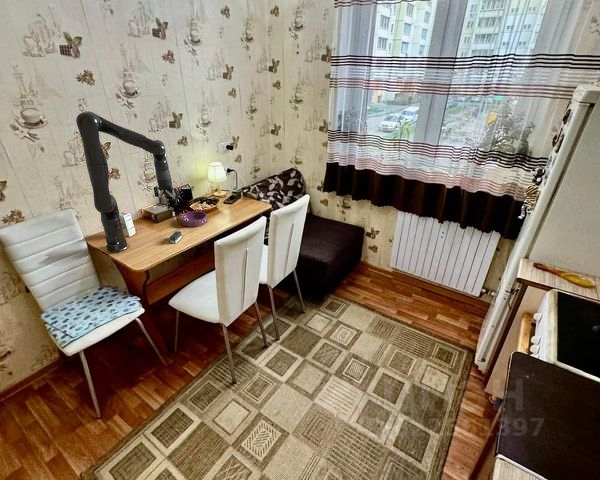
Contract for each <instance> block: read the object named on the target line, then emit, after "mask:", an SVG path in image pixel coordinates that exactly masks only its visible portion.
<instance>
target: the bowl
mask: <svg viewBox="0 0 600 480" xmlns="http://www.w3.org/2000/svg"><path fill="white" fill-rule="evenodd" d="M180 221H181V222H180V223H181V225H183V226H184V227H200V226H202V225H205V224H206V223H208V214H207V213H206V212H204V211H201V210H200V211H199V210H196V211H195V210H194V211H188V212H185V213H183V214H182V215H181V216H180Z"/></svg>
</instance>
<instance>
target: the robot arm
mask: <svg viewBox="0 0 600 480" xmlns="http://www.w3.org/2000/svg"><path fill="white" fill-rule="evenodd" d="M75 123H76V126H77V129H78V132H79V135H80V138H81V141H82V146H83V155H84V159H85V164H86V169H87V172H88V177H89V180H90V184H91V187H92V195H93V206H94V208H95V210H96V211H97V212H98V213H100V222H101V225H102V227H103V228H102V229H103V231H104V234H105V236H104V239H105V241H106V245H105V246H106V250H107V251H109V252H110V253H111V254H115V253H120V252H124V251H125V250H127V249H128V248H129V244H128V241H127V237H126V236H125V234H124V231H123V227H122V224H121V220H120V210H119V206H118V202H117V199H116V197H114V195H112V194H111V193H110V169H109V164H108V159H107V156H106V154H105V153H106V152H105V151H104V149H103V147H102V143H101V140H100V133H104V134H106V135H110V136H112V137H114V138H116V139H118V140H120V141H121V142H124V143H126V144H128V145H130V146H133V147H137V148H139V149H142V150H144V151H146V152H147V153H150V154H152V156H153V166H154V170H155V177H156V181H157V185H155V186H154V187H153V193H154V197H155V198H158V201H159V204H160V205H164V197H163V196H169V197H171V198H172V199H173V200H172V201H173V205H174V206H177V205H178V204H179V203H178V202H179V201H178V199H179V198H180V197H181V194H180V190H179V187H178V186H176V187H174V186H173V180H172V175H171V170H170V168H169V162H168V159H167V151H166V146H165V143H164V142H163V141H161V140H160V139H155V140H153V139H151V138H148V137H147V136H146V135H144V134H142V133H139V132H137V131H134V130H131V129H129V128H126V127H124V126H122V125H118V124H116V123H114V122H112V121H110V120H107V119H106V118H104V117H102V116H101V115H99V114H97V113H95V112H93V111H89V110H85V111H83V112H79V114H77V116H76V119H75Z"/></svg>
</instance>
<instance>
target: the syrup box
mask: <svg viewBox="0 0 600 480" xmlns="http://www.w3.org/2000/svg"><path fill="white" fill-rule="evenodd" d="M119 214H120V220H121V224H122V227H123V231H124V234H125V237H128V238H130V237H132V236H133V235H136V233H137V232H136V229H135V225H134V221H133V218H132V215H131V212H125V211H122V212H119Z"/></svg>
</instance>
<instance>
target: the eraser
mask: <svg viewBox="0 0 600 480" xmlns="http://www.w3.org/2000/svg"><path fill="white" fill-rule="evenodd" d="M182 238H183V236H182V231H177V230H176V231H174V232H173V233H172V234H171V235H170V236H169V241H170V244H177V243H178V242H179V241H180V240H181V239H182Z"/></svg>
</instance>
